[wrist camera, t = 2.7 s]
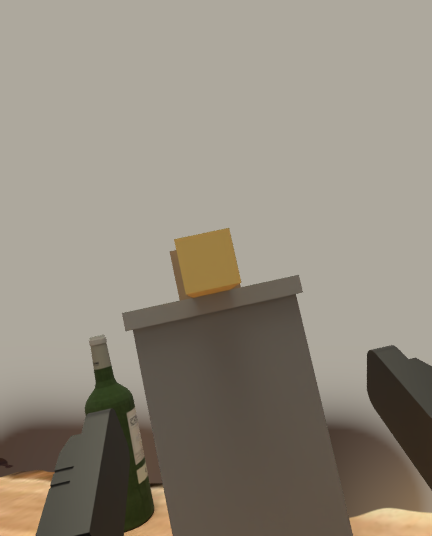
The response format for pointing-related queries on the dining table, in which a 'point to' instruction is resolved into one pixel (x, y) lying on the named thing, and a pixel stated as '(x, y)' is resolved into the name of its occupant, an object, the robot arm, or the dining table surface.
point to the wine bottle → (123, 404)
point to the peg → (205, 264)
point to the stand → (238, 415)
